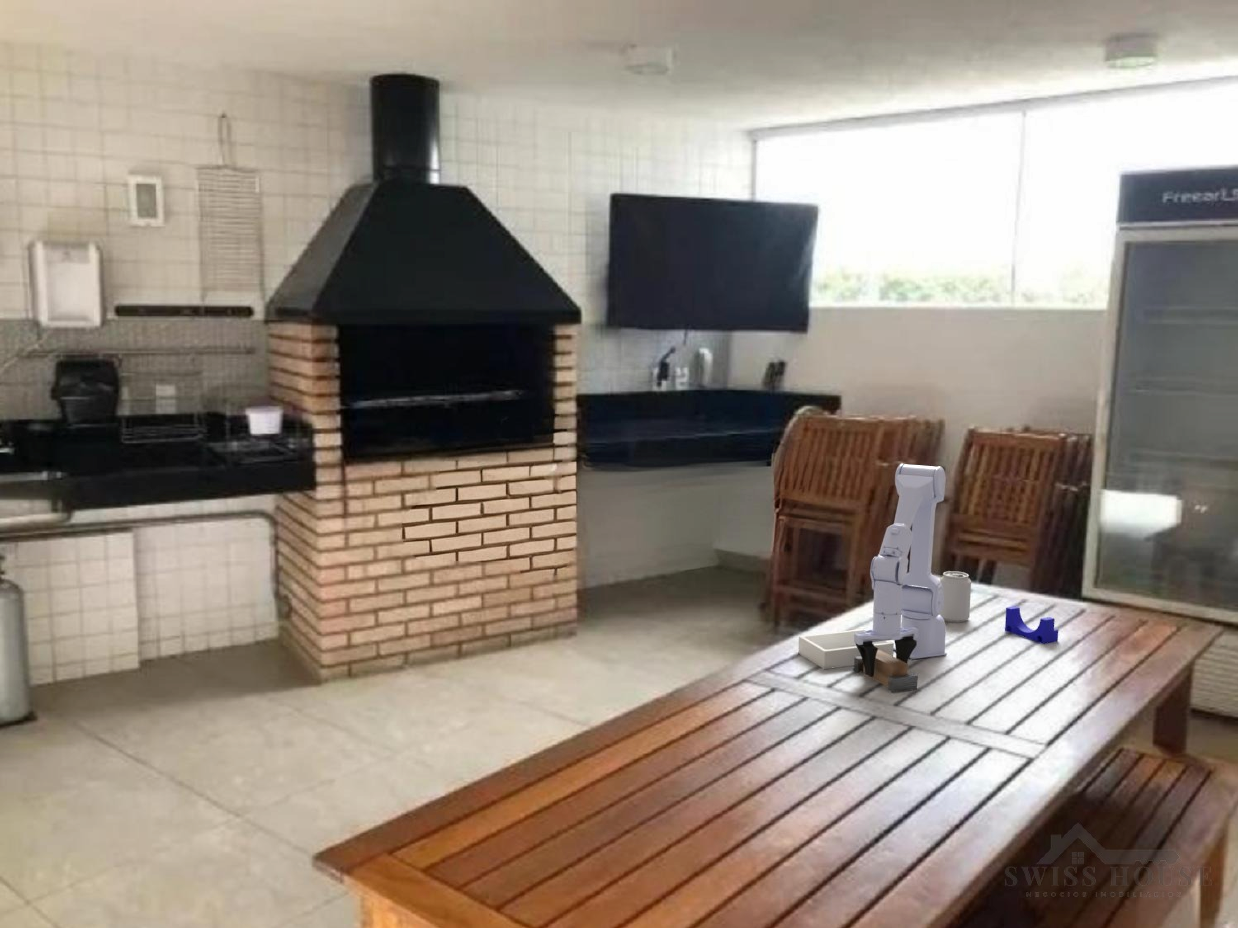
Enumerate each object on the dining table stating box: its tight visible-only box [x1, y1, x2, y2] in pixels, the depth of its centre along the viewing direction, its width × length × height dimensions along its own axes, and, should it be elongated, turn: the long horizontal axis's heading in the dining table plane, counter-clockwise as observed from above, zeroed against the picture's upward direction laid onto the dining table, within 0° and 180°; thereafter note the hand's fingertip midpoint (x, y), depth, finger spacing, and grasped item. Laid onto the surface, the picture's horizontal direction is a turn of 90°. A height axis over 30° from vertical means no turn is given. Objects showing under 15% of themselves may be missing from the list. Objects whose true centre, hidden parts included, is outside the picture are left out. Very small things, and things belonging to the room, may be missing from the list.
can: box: [939, 570, 972, 623], centre depth 267 cm, size 8×8×12 cm
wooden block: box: [862, 650, 909, 688], centre depth 223 cm, size 4×10×5 cm, turn 21°
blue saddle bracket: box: [1004, 605, 1059, 645], centre depth 253 cm, size 12×4×6 cm, turn 26°
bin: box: [798, 628, 895, 670], centre depth 238 cm, size 18×12×4 cm, turn 109°
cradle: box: [853, 656, 919, 694], centre depth 223 cm, size 6×15×3 cm, turn 19°
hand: (885, 673), depth 223 cm, fingers open, 7 cm apart
